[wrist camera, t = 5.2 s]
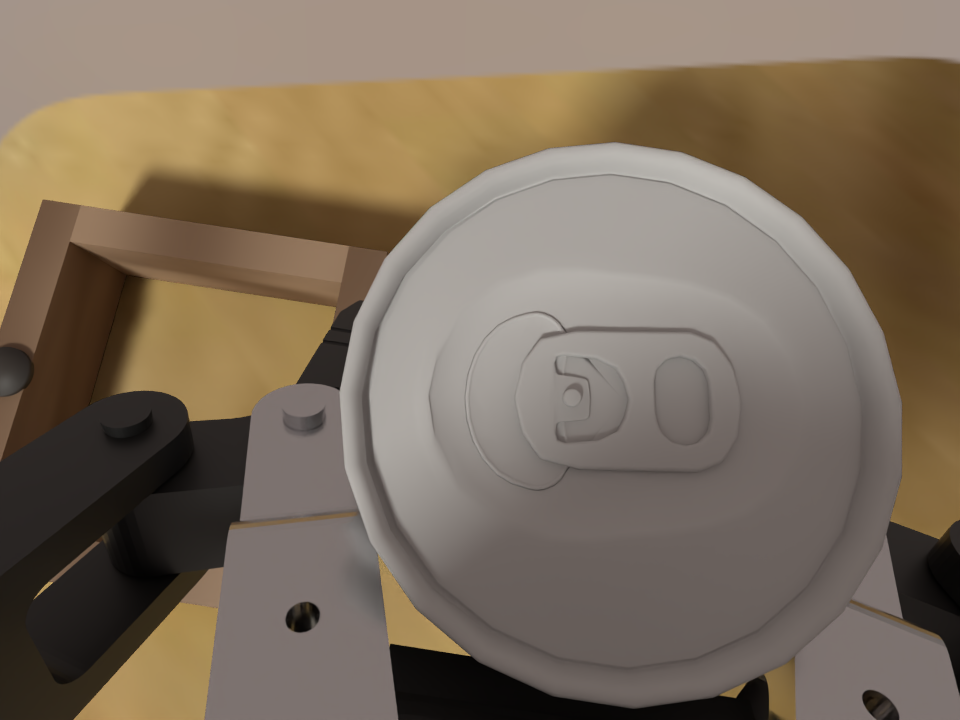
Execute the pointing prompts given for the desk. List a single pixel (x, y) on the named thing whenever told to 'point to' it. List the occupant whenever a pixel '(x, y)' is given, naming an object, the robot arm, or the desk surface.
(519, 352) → the beverage can
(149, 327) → the desk surface
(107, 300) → the collar
